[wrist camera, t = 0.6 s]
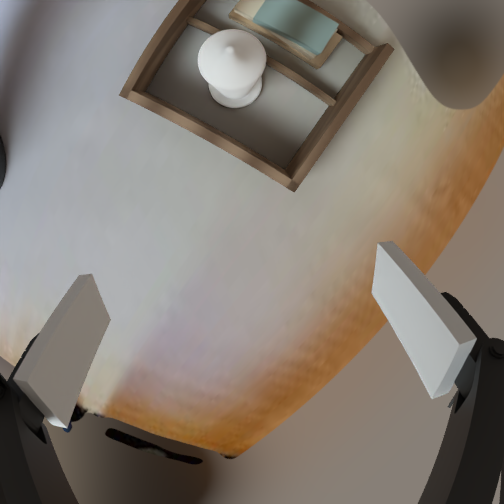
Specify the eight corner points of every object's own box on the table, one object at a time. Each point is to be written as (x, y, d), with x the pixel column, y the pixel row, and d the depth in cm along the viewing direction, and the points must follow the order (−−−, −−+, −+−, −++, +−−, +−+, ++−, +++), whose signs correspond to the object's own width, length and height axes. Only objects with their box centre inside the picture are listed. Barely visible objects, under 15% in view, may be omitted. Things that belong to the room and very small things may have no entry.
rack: (134, 95, 35) (118, 95, 30) (226, -36, 27) (225, -54, 21) (287, 181, 42) (294, 192, 37) (375, 54, 34) (394, 49, 28)
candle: (249, 115, 38) (264, 127, 16) (200, 97, 36) (148, 86, 14) (270, 70, 35) (314, 24, 13) (221, 52, 34) (198, -17, 11)
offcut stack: (229, 18, 31) (227, 5, 26) (254, -13, 29) (256, -29, 23) (316, 69, 35) (328, 64, 30) (339, 38, 33) (354, 29, 27)
